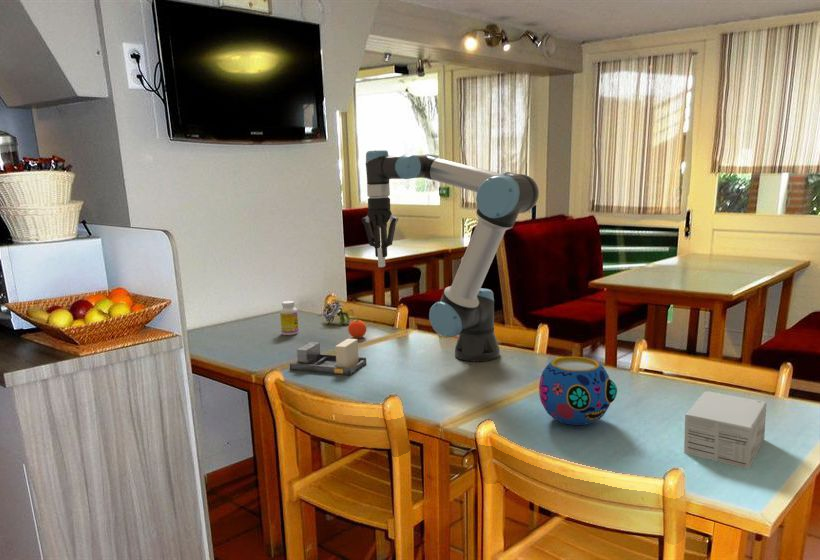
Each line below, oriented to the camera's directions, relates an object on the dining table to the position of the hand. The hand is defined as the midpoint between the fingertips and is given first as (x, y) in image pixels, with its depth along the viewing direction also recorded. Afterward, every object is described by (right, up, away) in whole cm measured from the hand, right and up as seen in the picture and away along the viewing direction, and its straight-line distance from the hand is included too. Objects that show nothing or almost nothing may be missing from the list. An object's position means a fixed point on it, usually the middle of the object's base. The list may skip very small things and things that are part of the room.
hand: (381, 266), depth 213 cm
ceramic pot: (+51, -40, -58) cm, 87 cm away
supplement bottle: (-38, -26, +35) cm, 58 cm away
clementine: (-11, -27, +26) cm, 39 cm away
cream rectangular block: (-11, -33, -11) cm, 36 cm away
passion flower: (-21, -23, +49) cm, 58 cm away
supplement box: (+80, -42, -74) cm, 117 cm away
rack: (-17, -33, -9) cm, 38 cm away
